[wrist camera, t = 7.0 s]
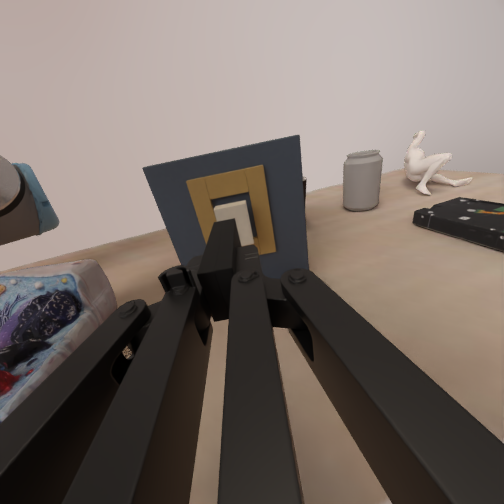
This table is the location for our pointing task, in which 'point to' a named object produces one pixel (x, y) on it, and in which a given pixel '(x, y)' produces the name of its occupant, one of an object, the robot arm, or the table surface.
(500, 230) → the disk drive
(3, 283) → the cell model
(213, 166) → the switch wall
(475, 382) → the table surface
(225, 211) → the switch paddle
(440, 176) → the person figurine
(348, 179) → the can
